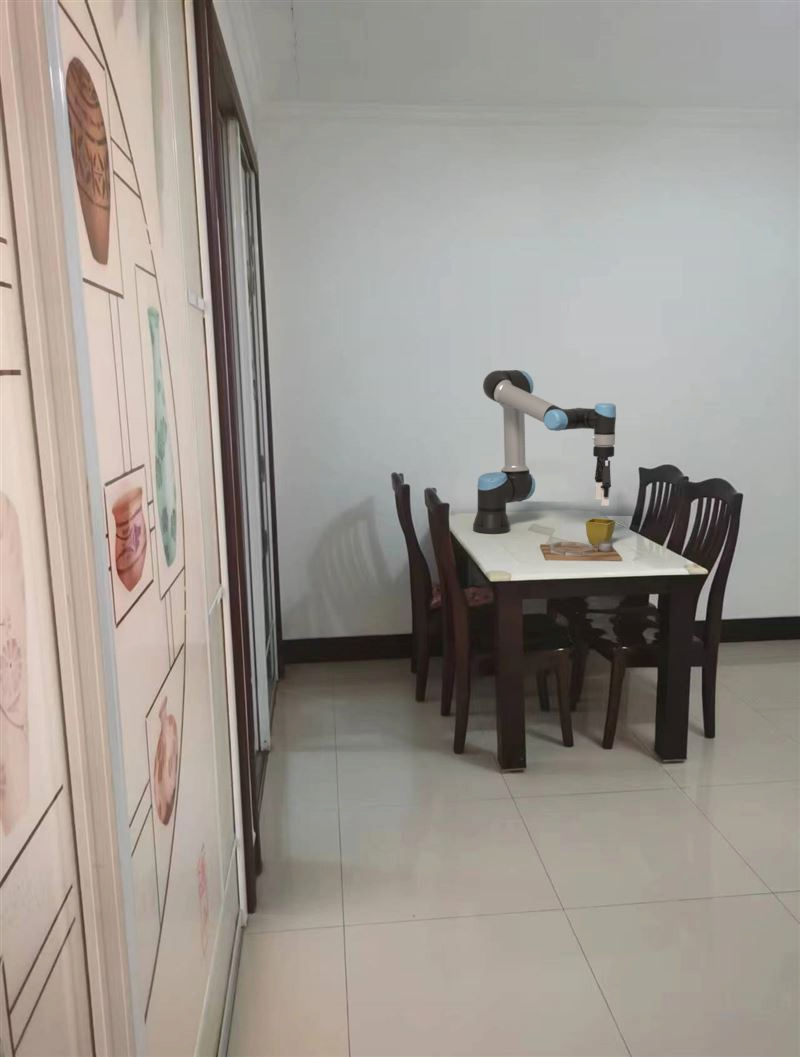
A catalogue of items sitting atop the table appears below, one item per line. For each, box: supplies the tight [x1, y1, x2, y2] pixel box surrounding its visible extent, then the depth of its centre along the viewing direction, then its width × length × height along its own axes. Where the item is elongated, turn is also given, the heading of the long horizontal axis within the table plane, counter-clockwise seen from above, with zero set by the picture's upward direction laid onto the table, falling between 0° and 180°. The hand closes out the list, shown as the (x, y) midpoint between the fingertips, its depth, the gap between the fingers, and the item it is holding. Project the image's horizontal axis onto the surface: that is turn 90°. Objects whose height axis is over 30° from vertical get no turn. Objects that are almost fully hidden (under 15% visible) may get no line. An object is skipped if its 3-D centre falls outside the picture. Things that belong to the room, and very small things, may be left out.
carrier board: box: [539, 541, 623, 562], centre depth 285 cm, size 20×26×4 cm
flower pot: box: [585, 517, 616, 545], centre depth 300 cm, size 9×9×9 cm
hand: (601, 502), depth 298 cm, fingers open, 13 cm apart
